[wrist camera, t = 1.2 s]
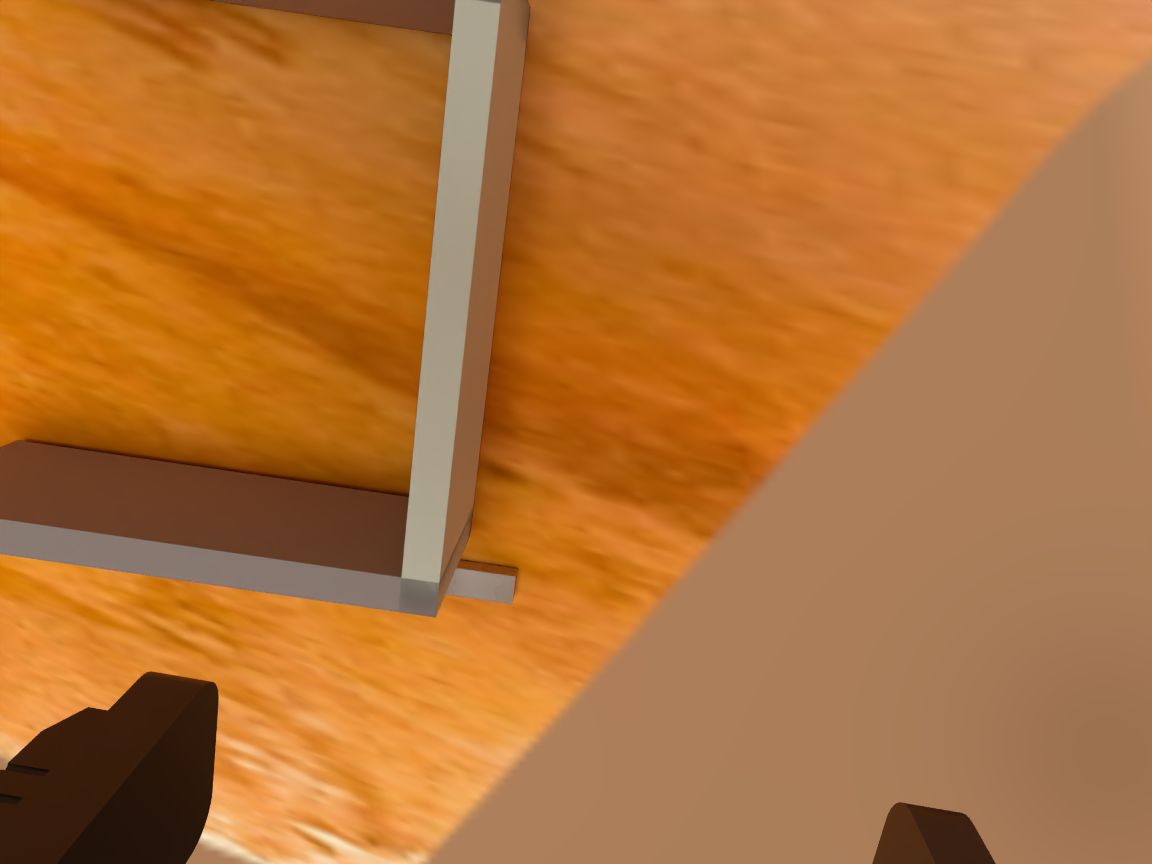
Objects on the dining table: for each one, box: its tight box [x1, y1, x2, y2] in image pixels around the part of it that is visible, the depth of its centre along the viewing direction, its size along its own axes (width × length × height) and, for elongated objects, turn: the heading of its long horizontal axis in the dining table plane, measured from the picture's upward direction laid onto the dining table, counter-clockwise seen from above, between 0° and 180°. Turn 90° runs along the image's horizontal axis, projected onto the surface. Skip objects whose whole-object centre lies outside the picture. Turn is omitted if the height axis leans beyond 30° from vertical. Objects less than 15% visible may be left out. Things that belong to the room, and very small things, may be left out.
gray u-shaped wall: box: [0, 0, 530, 617], centre depth 29 cm, size 19×18×7 cm
